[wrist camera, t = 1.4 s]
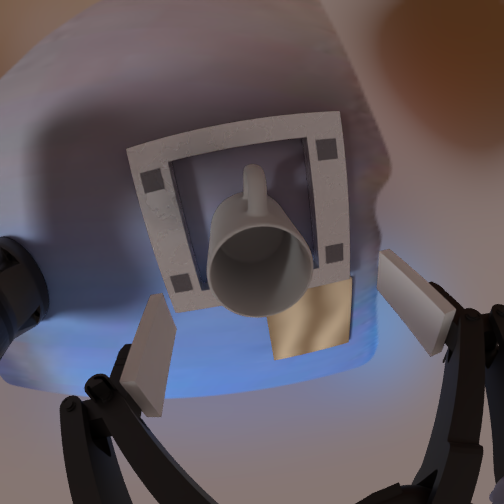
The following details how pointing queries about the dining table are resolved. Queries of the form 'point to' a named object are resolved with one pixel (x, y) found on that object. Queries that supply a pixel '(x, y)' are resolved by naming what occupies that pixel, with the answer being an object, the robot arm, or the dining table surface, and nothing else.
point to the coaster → (313, 321)
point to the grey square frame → (228, 136)
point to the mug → (256, 252)
